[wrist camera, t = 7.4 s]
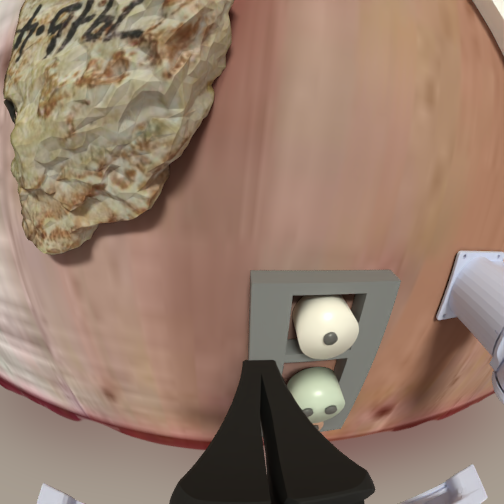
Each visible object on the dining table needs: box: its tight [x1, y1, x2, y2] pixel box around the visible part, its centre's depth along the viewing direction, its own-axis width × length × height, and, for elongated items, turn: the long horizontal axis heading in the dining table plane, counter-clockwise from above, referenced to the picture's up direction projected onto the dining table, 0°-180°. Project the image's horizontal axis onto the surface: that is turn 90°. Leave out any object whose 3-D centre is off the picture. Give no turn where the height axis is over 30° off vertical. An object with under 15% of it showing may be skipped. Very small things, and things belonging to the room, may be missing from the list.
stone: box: [3, 0, 234, 255], centre depth 13 cm, size 19×6×25 cm
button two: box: [287, 367, 345, 424], centre depth 22 cm, size 5×5×4 cm
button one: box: [292, 294, 359, 359], centre depth 21 cm, size 5×5×4 cm
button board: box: [248, 270, 401, 437], centre depth 24 cm, size 12×22×2 cm, turn 178°
